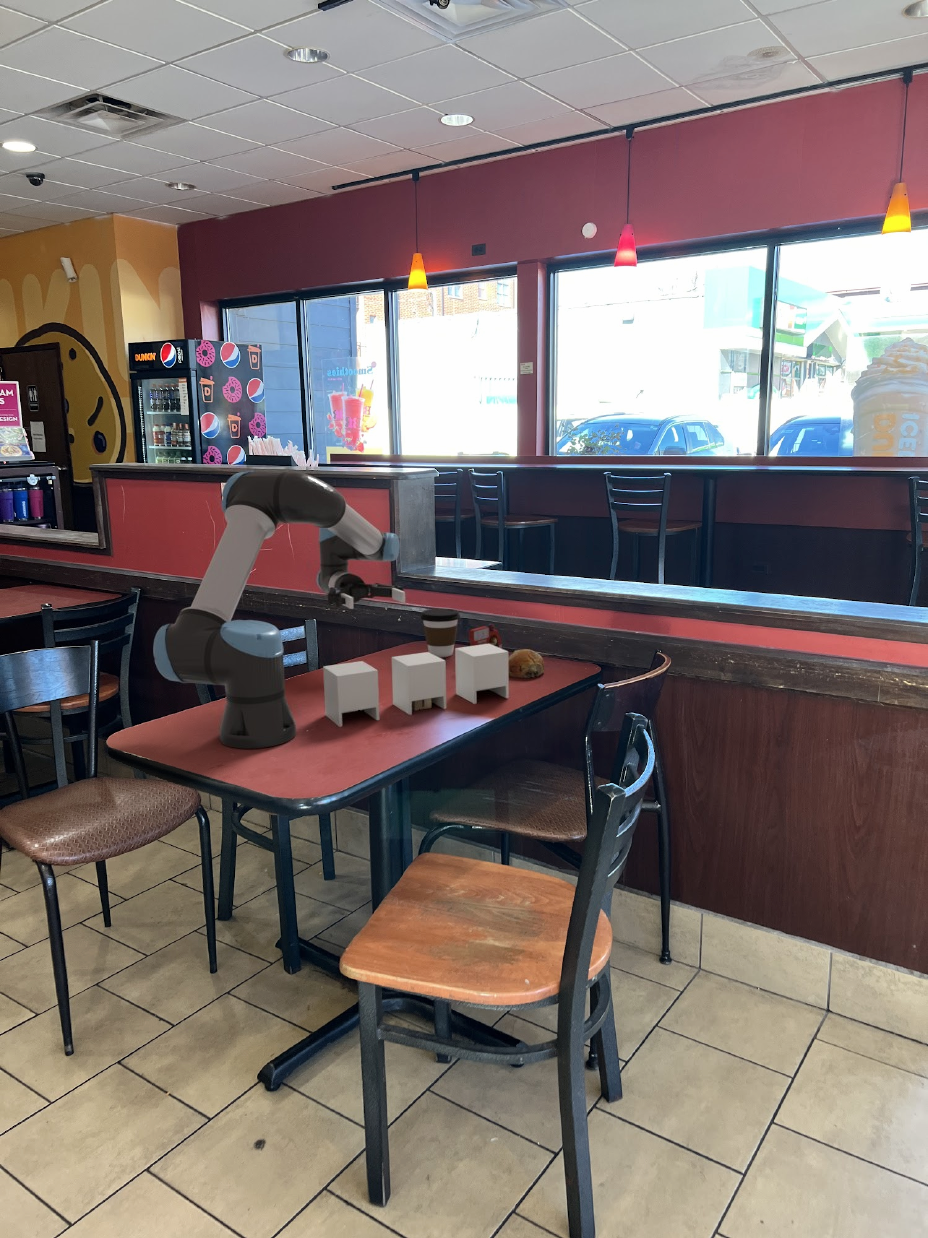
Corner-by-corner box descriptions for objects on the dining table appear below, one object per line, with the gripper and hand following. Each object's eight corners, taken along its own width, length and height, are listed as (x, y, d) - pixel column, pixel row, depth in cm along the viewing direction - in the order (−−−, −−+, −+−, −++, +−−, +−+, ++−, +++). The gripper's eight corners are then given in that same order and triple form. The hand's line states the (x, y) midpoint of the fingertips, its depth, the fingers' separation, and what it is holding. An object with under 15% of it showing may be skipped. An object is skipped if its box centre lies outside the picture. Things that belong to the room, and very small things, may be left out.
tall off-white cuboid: (409, 715, 193) (408, 666, 191) (393, 704, 201) (391, 657, 199) (446, 708, 197) (445, 660, 195) (428, 698, 205) (427, 652, 203)
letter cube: (415, 710, 196) (414, 693, 195) (407, 705, 200) (407, 688, 199) (431, 708, 198) (431, 690, 197) (423, 703, 202) (423, 686, 201)
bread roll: (544, 684, 228) (544, 653, 230) (544, 677, 219) (544, 645, 220) (506, 683, 229) (506, 653, 231) (504, 676, 220) (504, 645, 221)
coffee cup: (443, 647, 253) (443, 606, 250) (468, 654, 244) (468, 612, 242) (413, 654, 246) (412, 611, 243) (437, 661, 237) (436, 617, 235)
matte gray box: (474, 703, 200) (473, 656, 198) (455, 693, 208) (455, 648, 206) (508, 698, 204) (508, 651, 202) (489, 688, 212) (489, 643, 210)
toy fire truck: (510, 661, 237) (510, 623, 235) (481, 671, 228) (481, 631, 226) (490, 657, 242) (490, 619, 239) (461, 666, 232) (460, 628, 230)
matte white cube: (339, 726, 186) (337, 676, 184) (325, 715, 194) (323, 666, 191) (379, 720, 190) (377, 670, 188) (364, 708, 198) (362, 661, 195)
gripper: (391, 596, 240) (425, 610, 222) (302, 606, 229) (330, 621, 211) (390, 569, 239) (424, 580, 220) (300, 577, 228) (328, 590, 209)
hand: (378, 600), depth 216 cm, fingers open, 13 cm apart
